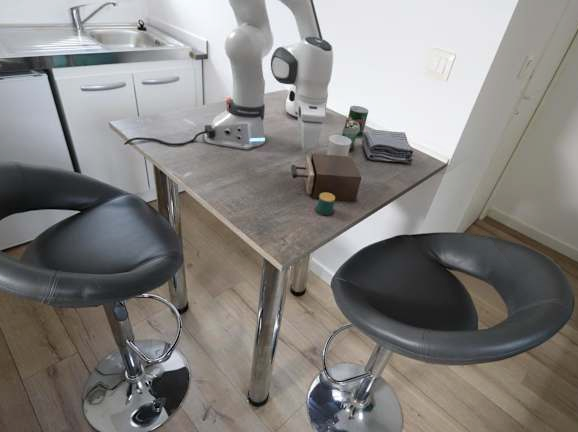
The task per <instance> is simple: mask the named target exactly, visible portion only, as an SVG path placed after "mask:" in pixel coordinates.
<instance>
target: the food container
mask: <svg viewBox="0 0 578 432" xmlns="http://www.w3.org/2000/svg"><path fill="white" fill-rule="evenodd" d="M359 132H360V126H359V123H358V122H356V121H354V120H352V119H348V117H346V120H345V124H344V127H343V129H342V133H341V136H345V137H347V138H349V139H350V140H351V146H350V149H349V152H351V151H353V149H354V145H355V142H356V139H357V137H356V136H357V133H359Z"/></svg>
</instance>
